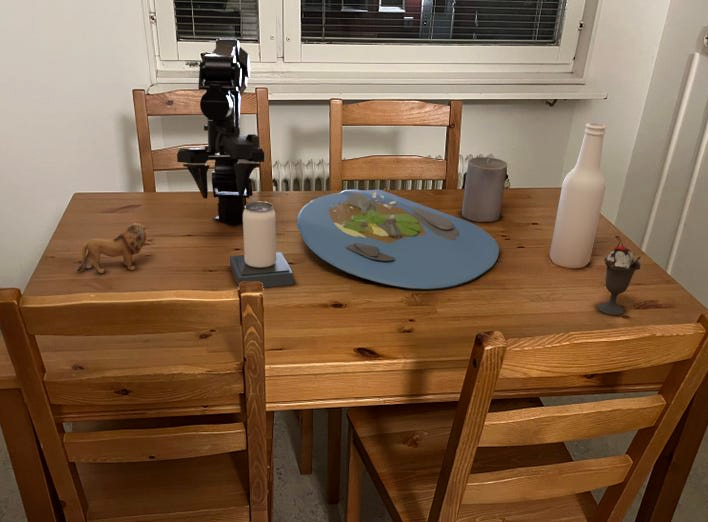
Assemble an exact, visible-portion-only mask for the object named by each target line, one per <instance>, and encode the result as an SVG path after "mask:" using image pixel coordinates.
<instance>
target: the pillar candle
mask: <svg viewBox="0 0 708 522" xmlns="http://www.w3.org/2000/svg"><path fill="white" fill-rule="evenodd" d="M507 171H508V163H507V162H506V161H504V160H502V159H499V158H495V157H490V156H479V157H477V156H476V157H472V158H470V159H468V160H467V168H466V175H465V183H464V193H463V198H462V199H463V200H462V208H461V216H462V217H463V218H464V219H466V220H469V221H472V222H476V223H485V222H487V223H490V222H491V223H492V222H496V221H498V220H499V219H500V218H501V211H502V206H503V198H504V191H505V185H506V177H507Z"/></svg>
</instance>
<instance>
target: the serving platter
mask: <svg viewBox="0 0 708 522" xmlns="http://www.w3.org/2000/svg"><path fill="white" fill-rule="evenodd" d="M296 227H297V229H298V231H299V233H300V235H301V238H302V240H303V242H304V243H305V244H306V245H307V247H308V248H309V249H310V250H311V251H312V252H313V253H314V254H316V255H317V256H318V258H320V259H322V260H323V261H325V262H326V263H328V264H330V265H331V266H333V267H335V268H336V269H338V270H340V271H343V272H344V273H347V274H349V275H352V276H355V277H357V278H360V279H363V280H367V281H370V282H374V283H377V284H380V285H381V284H382V285H386V286H389V287H390V286H391V287H396V288H401V289H407V290H419V291H431V290H433V291H434V290H443V289H450V288H455V287H459V286H462V285H465V284H467V283H469V282H472V281H474V280H476V279H478V278H480V277H481V276H482V275H483V274H485V273H486V272H488V271H490V270H491V269H492V268H493V266H494V265H495V264H496V262H497V260H498V257H499V254H500V247H499V244H498V242H497V241H496V240H495V239H494V237H493V236H492V235H491V234H490V233H488V232H487V230H484V229H482V227H480V226H478V225H476V224H475V223H472V222H470V221H468V220H465V219H462V218H459V217H456V216H454V215H451V214H449V213H445V212H443V211H439V210H438V209H434V208H432V207H429V206H425V205H423V204H421V203H417V202H415V201H413V200H409V199H407V198H404V197H401V196H399V195H395V194H393V193H390V192H388V191H386V188H385V187H384V188H383V189H368V190H362V189H345V190H342V191H341V192H336V193H335V192H334V193H330V194H325V195H322V196H318V197H317V198H315V199H312V200H310V201H309V202H307V203H306V204H305V205H304V206H303V207H301V209H300V210H299V212H298V215H297V218H296Z"/></svg>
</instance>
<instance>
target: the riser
mask: <svg viewBox="0 0 708 522" xmlns="http://www.w3.org/2000/svg"><path fill="white" fill-rule="evenodd" d="M229 269H230V271H231V273H232V276H233V278H234V280H235V283H236V285H237V287H238V286H239V283H240V282H242V281H260V282H262V283H263V286H264V288H263V289H266V288H275V287H284V286H285V287H287V286H293V285H294V271H293V270H292V268H291V267H290V264H289V263H288V261H287V259H286V258H285V256H284V255H283V252H282V251H276V263H275V264H274V265H273V266H271V267H268V268H253V267H250V266H248V265H247V264H246V263H245V256H244V254H239V255H230V256H229Z"/></svg>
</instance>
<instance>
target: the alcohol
mask: <svg viewBox="0 0 708 522" xmlns="http://www.w3.org/2000/svg"><path fill="white" fill-rule="evenodd" d="M606 129H607V126H606V124H604V123H602V122H597V121H595V122H594V121H591V122H587V123H586V124H585V129H584V135H583V139H582V143H581V146H580V150H579V154H578V157H577V160H576V164H575V166H574V168H572V169H571V170H570V171H569V172H568V173H566V175H565V177H564V179H563V182H562V185H561V190H560V196H559V201H558V207H557V211H556V217H555V222H554V228H553V234H552V240H551V244H550V249H549V258H550V261H551V262H552V263H553V264H555V265H557V266H559V267H562V268H566V269H582V268H584V267H586V266H587V265H588V264H589V263H590V261H591V258H592V257H591V256H592V253H593V248H594V244H595V239H596V234H597V230H598V224H599V222H600V221H599V220H600V216H601V211H602V206H603V202H604V199H605V198H604V197H605V193H606V179H605V177H604V174H603V173H602V172H601V160H602V151H603V144H604V136H605V134H606Z"/></svg>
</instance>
